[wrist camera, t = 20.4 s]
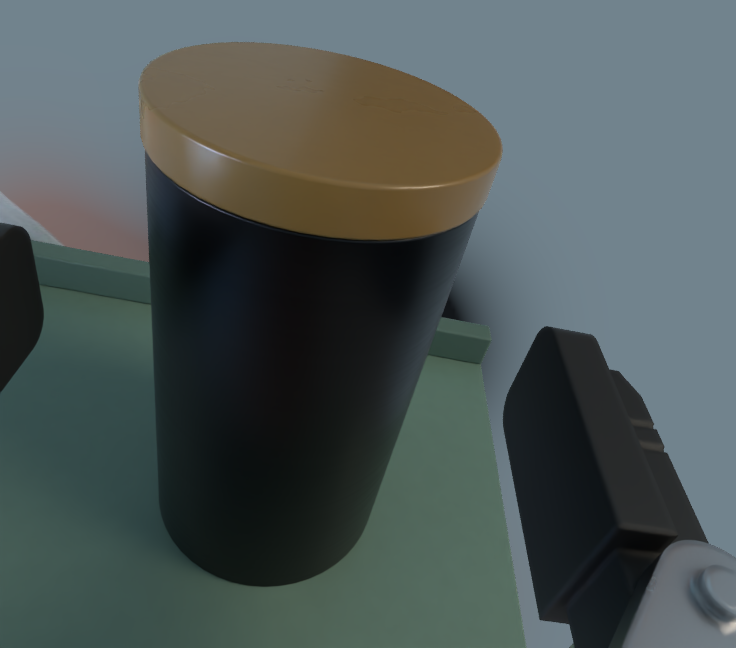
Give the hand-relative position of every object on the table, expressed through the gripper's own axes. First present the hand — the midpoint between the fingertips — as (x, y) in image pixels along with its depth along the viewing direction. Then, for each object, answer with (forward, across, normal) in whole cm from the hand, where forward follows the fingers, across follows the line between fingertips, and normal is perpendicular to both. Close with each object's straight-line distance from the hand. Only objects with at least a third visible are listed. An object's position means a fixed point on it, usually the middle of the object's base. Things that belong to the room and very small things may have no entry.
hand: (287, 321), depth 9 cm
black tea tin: (+2, 0, +7) cm, 7 cm away
